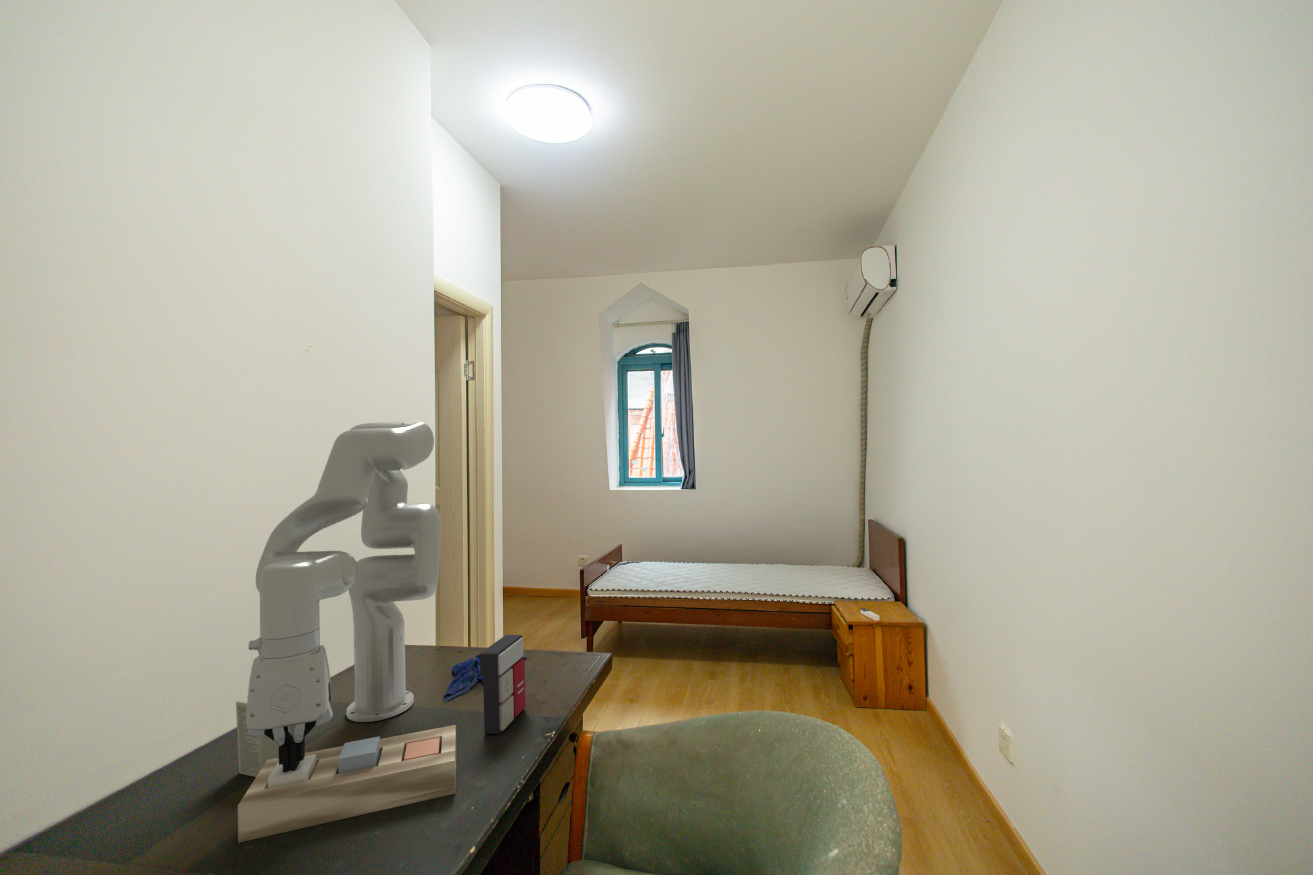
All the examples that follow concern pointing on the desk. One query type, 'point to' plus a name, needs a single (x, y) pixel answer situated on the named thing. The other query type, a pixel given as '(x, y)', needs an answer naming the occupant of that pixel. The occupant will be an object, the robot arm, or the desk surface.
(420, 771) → the key console
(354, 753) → the slate key
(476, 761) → the desk surface
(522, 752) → the desk surface
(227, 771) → the desk surface
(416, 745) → the terracotta key
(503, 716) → the calculator
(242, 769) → the skincare box
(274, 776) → the offwhite key
